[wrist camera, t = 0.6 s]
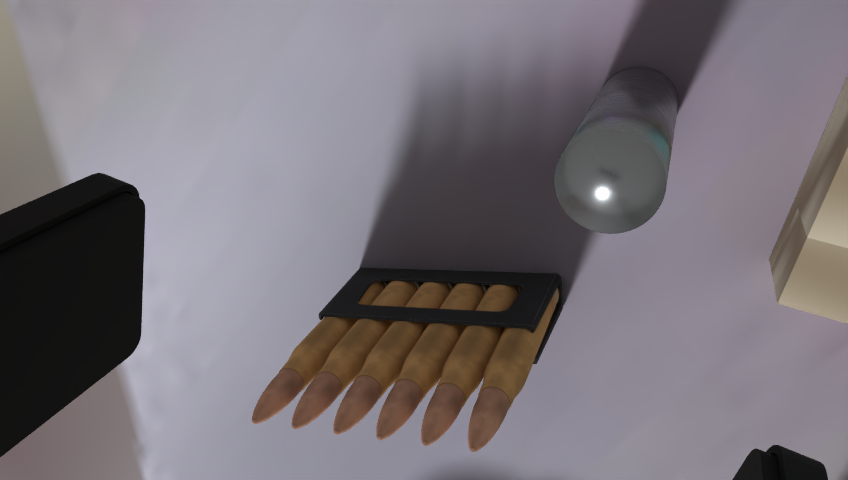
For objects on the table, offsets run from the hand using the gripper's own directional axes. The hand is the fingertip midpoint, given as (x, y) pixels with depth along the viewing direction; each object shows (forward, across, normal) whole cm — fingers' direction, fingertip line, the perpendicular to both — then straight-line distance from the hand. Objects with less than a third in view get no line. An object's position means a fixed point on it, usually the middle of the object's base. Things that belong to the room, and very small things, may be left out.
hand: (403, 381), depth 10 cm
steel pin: (+22, -2, +1) cm, 22 cm away
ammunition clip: (+22, +3, +12) cm, 26 cm away
